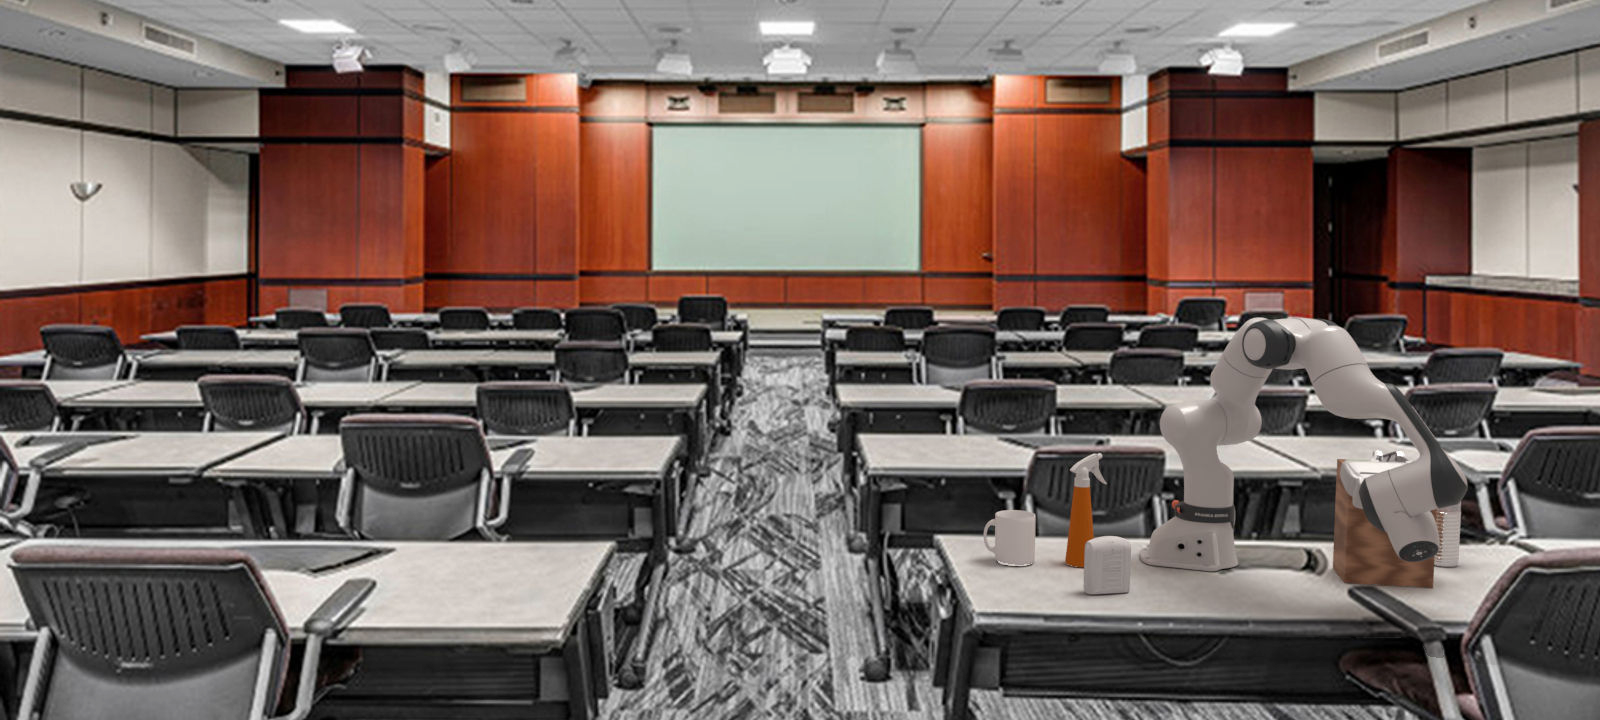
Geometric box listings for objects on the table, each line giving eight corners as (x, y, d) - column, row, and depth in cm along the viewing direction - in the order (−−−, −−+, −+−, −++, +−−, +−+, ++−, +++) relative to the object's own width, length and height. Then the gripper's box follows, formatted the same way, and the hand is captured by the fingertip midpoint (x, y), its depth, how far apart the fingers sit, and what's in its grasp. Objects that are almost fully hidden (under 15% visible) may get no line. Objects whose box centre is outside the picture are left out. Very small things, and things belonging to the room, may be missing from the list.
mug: (1037, 568, 268) (1038, 519, 267) (985, 567, 269) (986, 518, 268) (1031, 557, 278) (1032, 510, 277) (982, 556, 278) (982, 509, 277)
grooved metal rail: (1399, 469, 236) (1394, 457, 237) (1383, 473, 238) (1379, 461, 238) (1401, 461, 254) (1397, 450, 254) (1387, 465, 255) (1383, 454, 255)
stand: (1344, 582, 255) (1349, 468, 253) (1332, 568, 267) (1337, 458, 265) (1433, 588, 251) (1438, 471, 249) (1417, 573, 263) (1422, 461, 260)
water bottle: (1462, 568, 267) (1468, 463, 264) (1430, 567, 268) (1436, 462, 266) (1452, 561, 273) (1457, 458, 271) (1421, 559, 275) (1426, 457, 272)
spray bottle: (1114, 564, 271) (1116, 454, 269) (1078, 569, 267) (1080, 458, 264) (1094, 557, 278) (1096, 450, 275) (1058, 562, 273) (1060, 453, 270)
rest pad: (1356, 468, 253) (1356, 467, 253) (1345, 459, 263) (1345, 459, 263) (1391, 469, 251) (1391, 468, 251) (1378, 461, 262) (1378, 460, 262)
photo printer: (1123, 587, 252) (1124, 532, 251) (1133, 593, 248) (1134, 537, 247) (1080, 591, 250) (1081, 535, 249) (1089, 596, 246) (1090, 540, 245)
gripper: (1462, 488, 226) (1445, 443, 237) (1349, 483, 231) (1338, 439, 241) (1455, 511, 229) (1439, 466, 240) (1345, 506, 234) (1334, 462, 245)
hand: (1387, 453), depth 241 cm, fingers closed on grooved metal rail, 3 cm apart
